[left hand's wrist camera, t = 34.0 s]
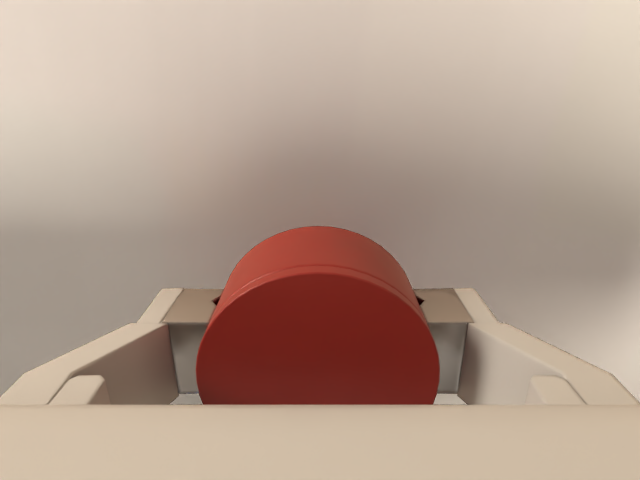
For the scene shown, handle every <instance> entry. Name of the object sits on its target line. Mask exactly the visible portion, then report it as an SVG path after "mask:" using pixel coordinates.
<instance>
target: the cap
mask: <svg viewBox="0 0 640 480" xmlns="http://www.w3.org/2000/svg"><path fill="white" fill-rule="evenodd" d="M439 381H440V362H439V354H438V351H437V347H436V344H435V341H434V339H433V336H432V334H431V332H430V329H429V327H428V324H427V322H426V320H425V317H424V315H423V313H422V310H421V308H420V306H419V303H418V301H417V299H416V296H415V294H414V292H413V289H412V287H411V285H410V282H409V280H408V278H407V276H406V274H405V272H404V271H403V269H402V268H401V266H400V265H399V263H398V262H397V261H396V260H395V259H394V258H393V256H392V255H391V254H390V253H389V252H387V251H386V250H385V249H384V248H383V247H381V246H380V245H378V244H377V243H375V242H374V241H372V240H371V239H369V238H367V237H364V236H362V235H360V234H358V233H355V232H352V231H348V230H345V229H340V228H335V227H324V226H312V227H302V228H296V229H291V230H288V231H285V232H282V233H279V234H276V235H274V236H272V237H270V238H268V239H266V240H264V241H263V242H261V243H260V244H258V245H257V246H255V247H254V248H253V249H251V250H250V251H249V252H248V253H247V254H246V255H245V256H244V257H243V258H242V259H241V260H240V262H239V263H238V264H237V265H236V267H235V268H234V270H233V271H232V273H231V275H230V277H229V279H228V282H227V284H226V286H225V288H224V290H223V293H222V295H221V297H220V300H219V302H218V304H217V306H216V309H215V311H214V313H213V315H212V318H211V320H210V322H209V324H208V327H207V329H206V331H205V334H204V336H203V338H202V340H201V343H200V346H199V350H198V354H197V360H196V382H197V386H198V391H199V395H200V398H201V400H202V403H203V405H433V403H434V400H435V397H436V395H437V390H438V386H439Z"/></svg>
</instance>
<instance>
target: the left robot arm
mask: <svg viewBox="0 0 640 480" xmlns="http://www.w3.org/2000/svg"><path fill="white" fill-rule="evenodd" d="M223 290H224V289H187V288H186V289H184V288H166V289H161V291H160V292H159V293H158V295H157V296H156V297H155V299H154V300H153V301H152V303H151V304H150V305H149V307H148V308H147V309H146V311H145V312H144V313H143V315H142V316H141V318H140V319H139V320H138V322H137V323H129V324H127V325H125V326H123V327H121V328H119V329H116V330H114V331H112V332H110V333H108V334H106V335H104V336H102V337H100V338H98V339H95V340H93V341H91V342H89V343H87V344H85V345H83V346H81V347H79V348H76V349H74V350H72V351H70V352H68V353H66V354H64V355H62V356H60V357H58V358H55V359H53V360H51V361H49V362H47V363H45V364H43V365H41V366H39V367H37V368H34V369H32V370H30V371H28V372H26V373H24V374H23V375H22V376H21V377H20V378H19V379H18V380H17V381H16V382H15V383H14V384H13V385H12V386H11V387H10V388H9V389H8V390H7V391H6V392H5V393H4V394H3V395H2V396H1V397H0V480H640V403H639V402H638V401H637V399H636V398H635V397H634V396H633V395H632V394H631V393H630V392H629V391H628V390H627V389H626V388H625V387H624V386H623V385H622V384H621V383H620V382H619V381H618V380H617V379H616V378H615V377H614V376H613V375H612V374H611V373H609V372H607V371H604V370H602V369H600V368H598V367H596V366H594V365H592V364H590V363H588V362H586V361H584V360H582V359H580V358H577V357H575V356H573V355H571V354H569V353H567V352H565V351H563V350H561V349H559V348H557V347H555V346H553V345H550V344H548V343H546V342H544V341H542V340H540V339H538V338H536V337H534V336H532V335H530V334H528V333H526V332H523V331H521V330H519V329H517V328H515V327H513V326H511V325H509V324H507V323H499V322H498V320H497V319H496V318H495V316H494V315H493V313H492V312H491V311H490V309H489V308H488V307H487V305H486V304H485V303H484V301H483V300H482V298H481V297H480V296H479V294H478V293H477V292H476V290H475V289H473V288H458V289H453V288H445V289H413V292H414V294H415V296H416V299H417V301H418V303H419V306H420V308H421V310H422V313H423V315H424V317H425V320H426V322H427V324H428V327H429V329H430V332H431V334H432V336H433V339H434V341H435V344H436V347H437V351H438V354H439V362H440V381H439V386H438V390H437V393H447V394H457V396H459V397H460V398H461V399H462V400H463V401H464V402H465V403H466V404H467V405H169V404H170V403H171V402H172V401H173V400H174V399H176V398H177V397H178V396H179V394H189V393H199V391H198V386H197V382H196V360H197V354H198V350H199V346H200V343H201V340H202V338H203V336H204V334H205V331H206V329H207V327H208V324H209V322H210V320H211V318H212V315H213V313H214V311H215V309H216V306H217V304H218V302H219V300H220V297H221V295H222V293H223Z"/></svg>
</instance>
